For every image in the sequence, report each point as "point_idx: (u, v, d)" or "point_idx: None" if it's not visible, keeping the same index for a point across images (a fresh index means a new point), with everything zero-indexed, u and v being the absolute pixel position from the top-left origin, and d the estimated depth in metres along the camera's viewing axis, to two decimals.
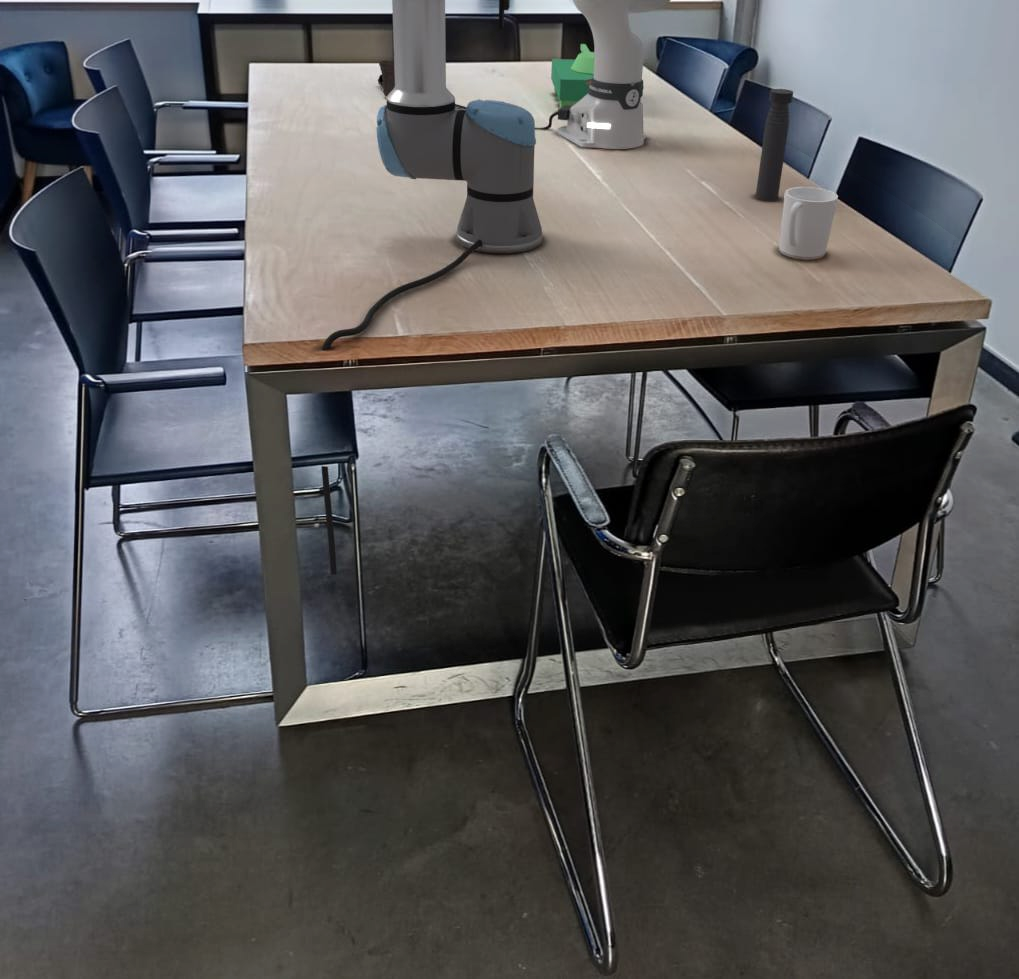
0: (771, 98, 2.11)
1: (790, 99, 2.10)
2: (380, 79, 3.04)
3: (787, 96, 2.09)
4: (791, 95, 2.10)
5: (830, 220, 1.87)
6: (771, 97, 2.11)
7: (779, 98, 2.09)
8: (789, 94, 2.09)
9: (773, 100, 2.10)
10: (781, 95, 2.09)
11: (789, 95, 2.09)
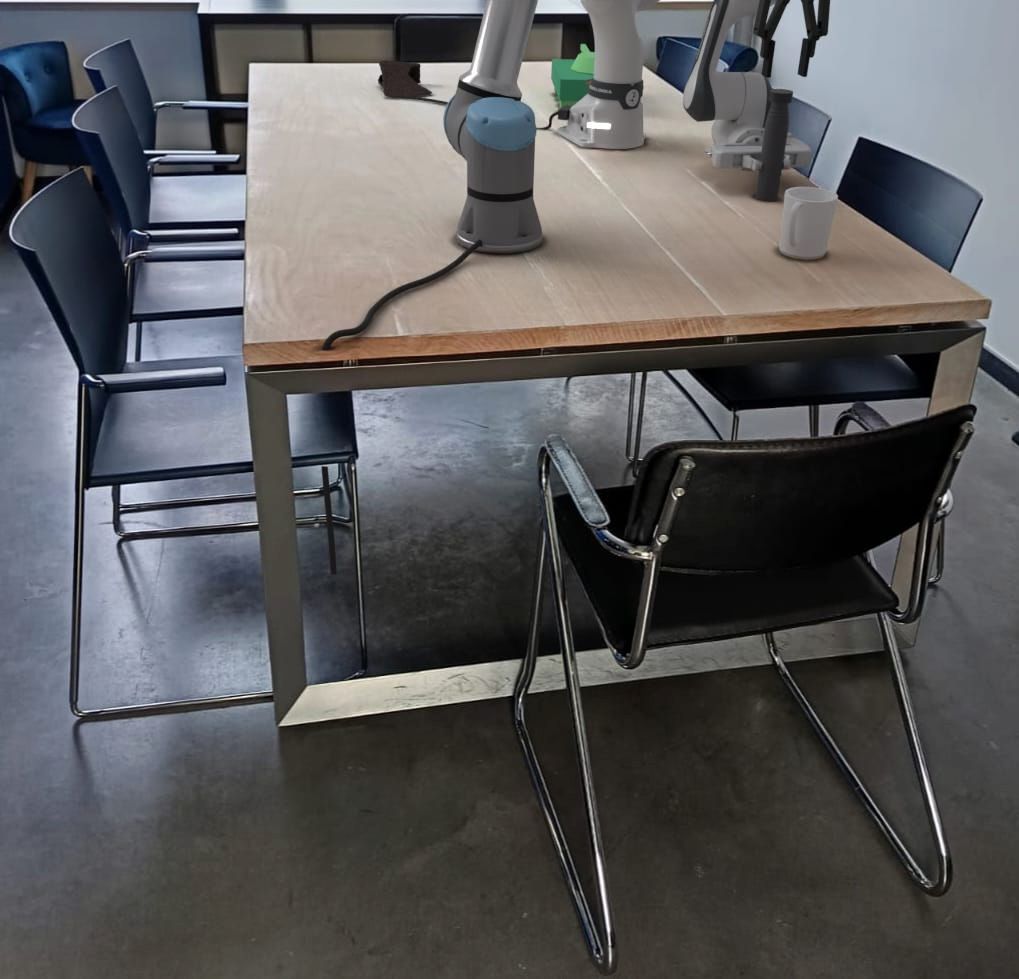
0: (771, 98, 2.11)
1: (790, 99, 2.10)
2: (380, 79, 3.04)
3: (787, 96, 2.09)
4: (790, 95, 2.10)
5: (830, 220, 1.87)
6: (771, 97, 2.11)
7: (779, 98, 2.09)
8: (789, 94, 2.09)
9: (773, 100, 2.10)
10: (781, 95, 2.09)
11: (789, 95, 2.09)
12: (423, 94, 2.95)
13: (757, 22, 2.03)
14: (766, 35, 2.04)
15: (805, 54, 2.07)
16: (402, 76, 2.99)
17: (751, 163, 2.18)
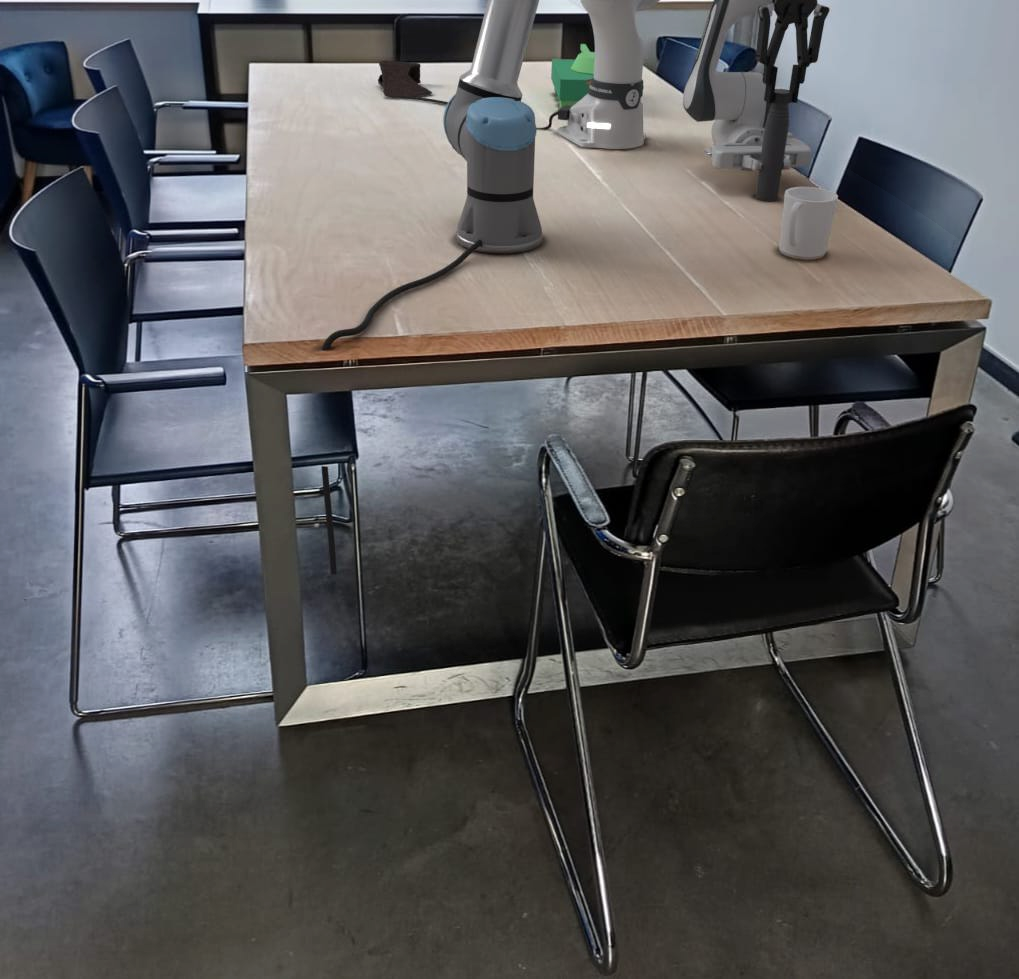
0: None
1: (790, 99, 2.10)
2: (380, 79, 3.04)
3: (787, 96, 2.09)
4: (790, 95, 2.10)
5: (830, 220, 1.87)
6: None
7: (779, 98, 2.09)
8: (789, 94, 2.09)
9: (773, 100, 2.10)
10: (781, 95, 2.09)
11: (789, 95, 2.09)
12: (423, 94, 2.95)
13: (758, 49, 2.06)
14: (768, 62, 2.06)
15: (795, 80, 2.09)
16: (402, 76, 2.99)
17: (751, 163, 2.18)
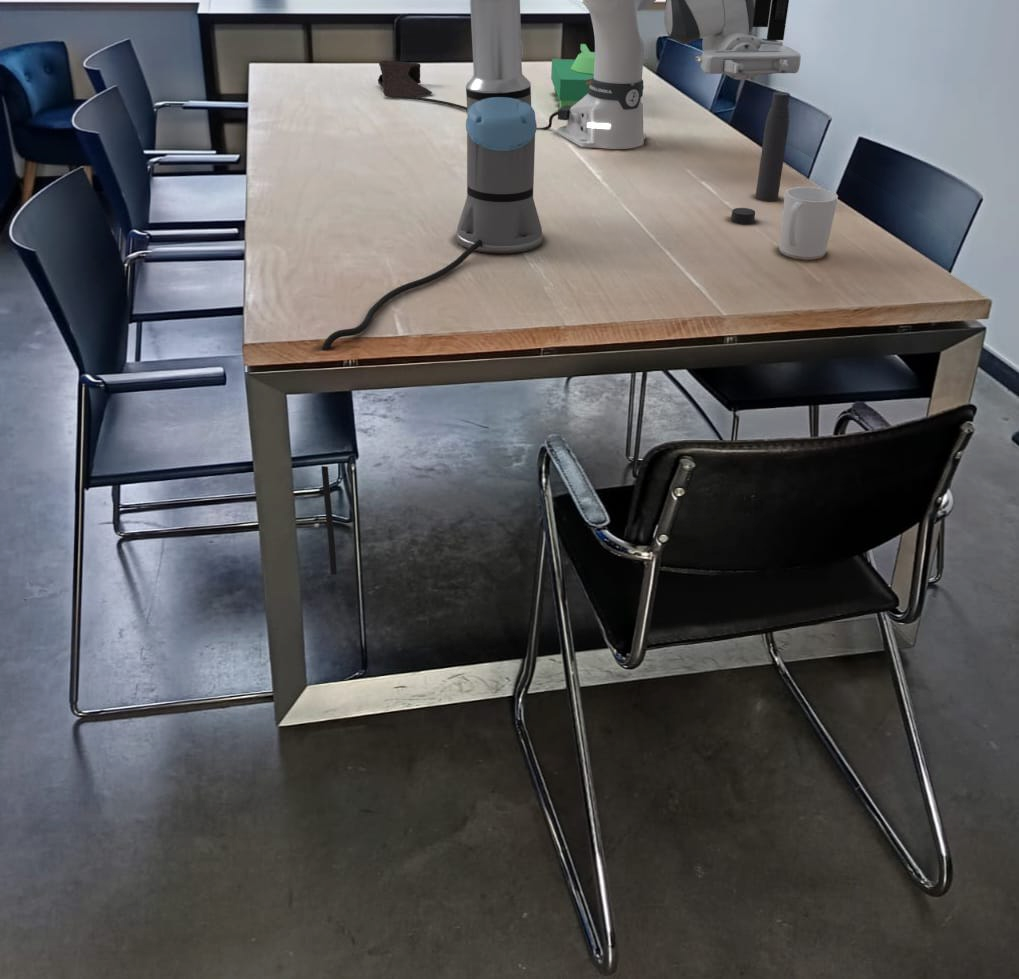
0: (737, 220, 2.07)
1: None
2: (380, 79, 3.04)
3: (753, 216, 2.07)
4: (754, 214, 2.07)
5: (830, 220, 1.87)
6: (737, 219, 2.07)
7: (747, 219, 2.06)
8: (754, 214, 2.07)
9: (740, 222, 2.07)
10: (749, 216, 2.06)
11: (754, 214, 2.07)
12: (423, 94, 2.95)
13: None
14: None
15: (768, 3, 1.94)
16: (402, 76, 2.99)
17: (732, 66, 2.21)
